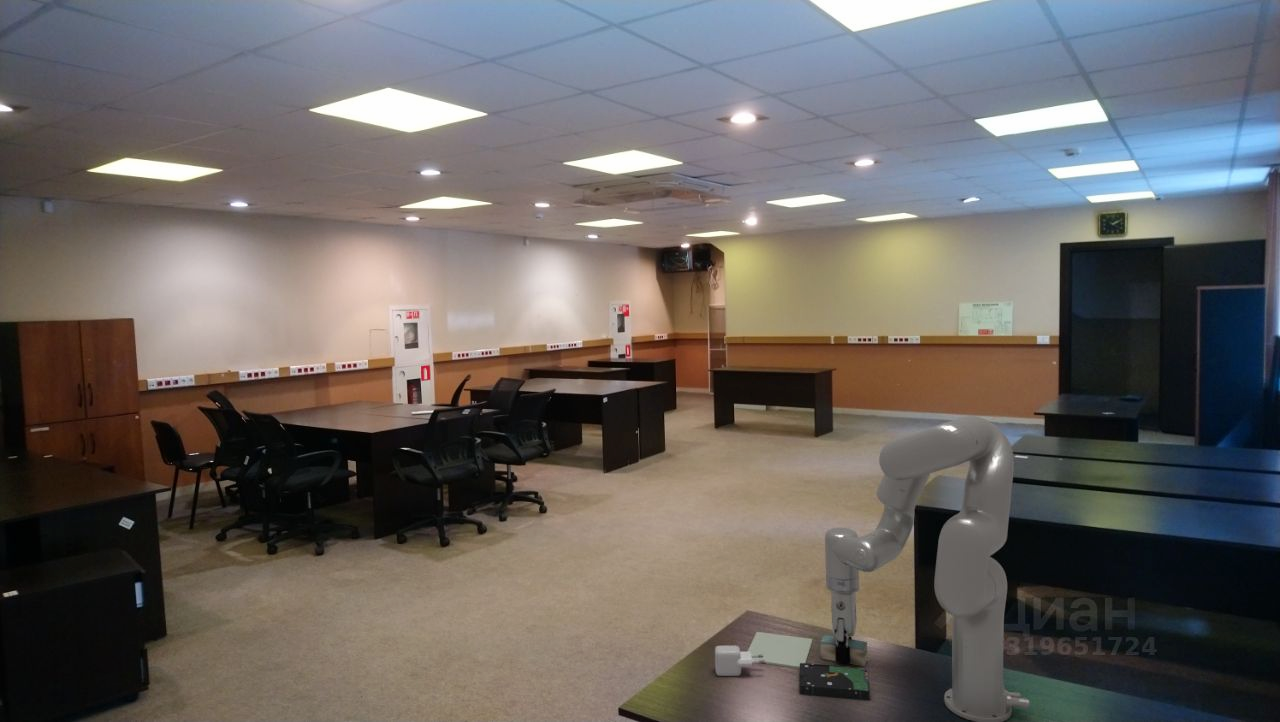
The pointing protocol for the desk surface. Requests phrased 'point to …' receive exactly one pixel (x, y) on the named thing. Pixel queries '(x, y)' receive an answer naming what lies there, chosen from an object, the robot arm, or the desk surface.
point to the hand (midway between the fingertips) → (843, 656)
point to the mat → (781, 649)
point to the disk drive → (834, 681)
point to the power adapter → (733, 660)
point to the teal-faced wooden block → (856, 650)
